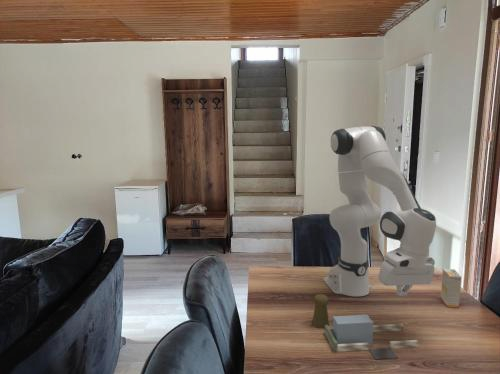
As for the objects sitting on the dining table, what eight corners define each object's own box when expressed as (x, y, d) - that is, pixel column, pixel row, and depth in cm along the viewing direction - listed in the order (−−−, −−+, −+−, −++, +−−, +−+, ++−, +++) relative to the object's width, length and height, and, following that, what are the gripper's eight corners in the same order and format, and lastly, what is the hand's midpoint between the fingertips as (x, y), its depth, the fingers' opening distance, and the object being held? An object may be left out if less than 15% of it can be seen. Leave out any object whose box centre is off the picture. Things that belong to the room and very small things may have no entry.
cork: (310, 320, 135) (311, 292, 134) (326, 319, 136) (327, 291, 134) (314, 328, 129) (315, 299, 128) (331, 327, 130) (332, 299, 128)
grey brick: (366, 336, 125) (367, 314, 123) (372, 344, 120) (373, 322, 119) (332, 338, 124) (333, 316, 123) (337, 346, 119) (337, 324, 118)
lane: (394, 321, 134) (395, 314, 133) (426, 356, 113) (427, 347, 113) (320, 325, 132) (320, 317, 131) (339, 361, 111) (339, 352, 110)
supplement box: (459, 308, 144) (462, 276, 142) (446, 306, 145) (449, 275, 143) (452, 298, 152) (455, 268, 150) (440, 297, 153) (442, 268, 150)
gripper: (428, 253, 125) (418, 289, 129) (380, 253, 118) (371, 291, 121) (443, 261, 120) (431, 298, 123) (393, 262, 113) (383, 301, 116)
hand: (401, 295), depth 122 cm, fingers closed
